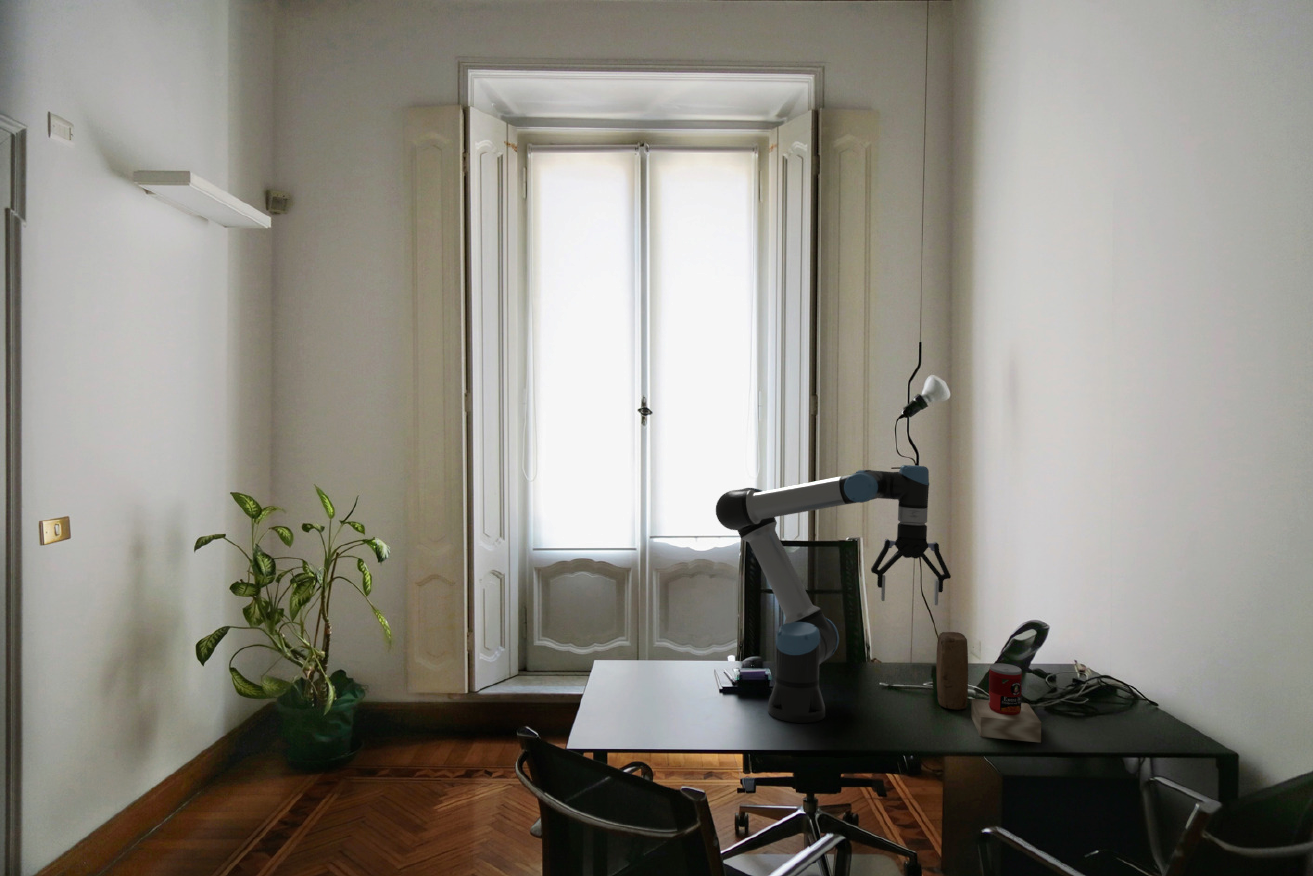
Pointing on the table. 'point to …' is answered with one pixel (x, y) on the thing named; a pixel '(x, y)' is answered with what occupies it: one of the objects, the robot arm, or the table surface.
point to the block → (952, 670)
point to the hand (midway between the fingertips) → (909, 602)
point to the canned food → (1005, 688)
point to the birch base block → (1006, 723)
